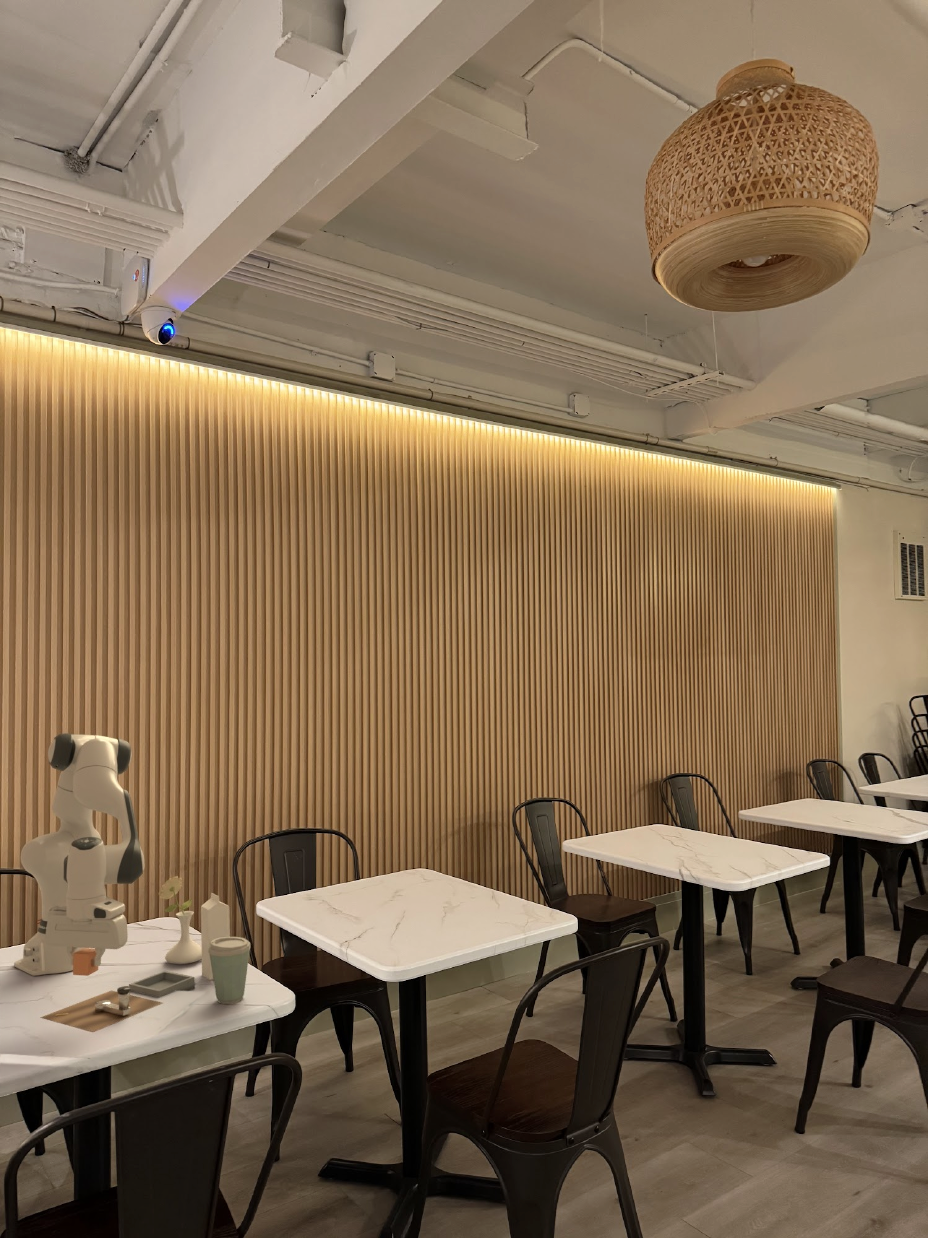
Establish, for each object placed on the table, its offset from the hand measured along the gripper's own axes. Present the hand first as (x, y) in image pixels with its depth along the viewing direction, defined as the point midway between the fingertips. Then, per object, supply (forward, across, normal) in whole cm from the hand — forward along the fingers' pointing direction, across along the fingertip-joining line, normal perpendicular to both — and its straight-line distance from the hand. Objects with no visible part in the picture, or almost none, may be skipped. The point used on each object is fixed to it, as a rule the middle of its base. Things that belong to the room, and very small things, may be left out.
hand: (85, 965), depth 211 cm
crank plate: (+14, +1, +6) cm, 15 cm away
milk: (+14, +15, +37) cm, 42 cm away
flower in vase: (+14, -1, +46) cm, 49 cm away
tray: (+14, +7, +23) cm, 27 cm away
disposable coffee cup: (+14, +28, +20) cm, 37 cm away
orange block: (+2, 0, 0) cm, 2 cm away
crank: (+12, +4, +4) cm, 14 cm away
